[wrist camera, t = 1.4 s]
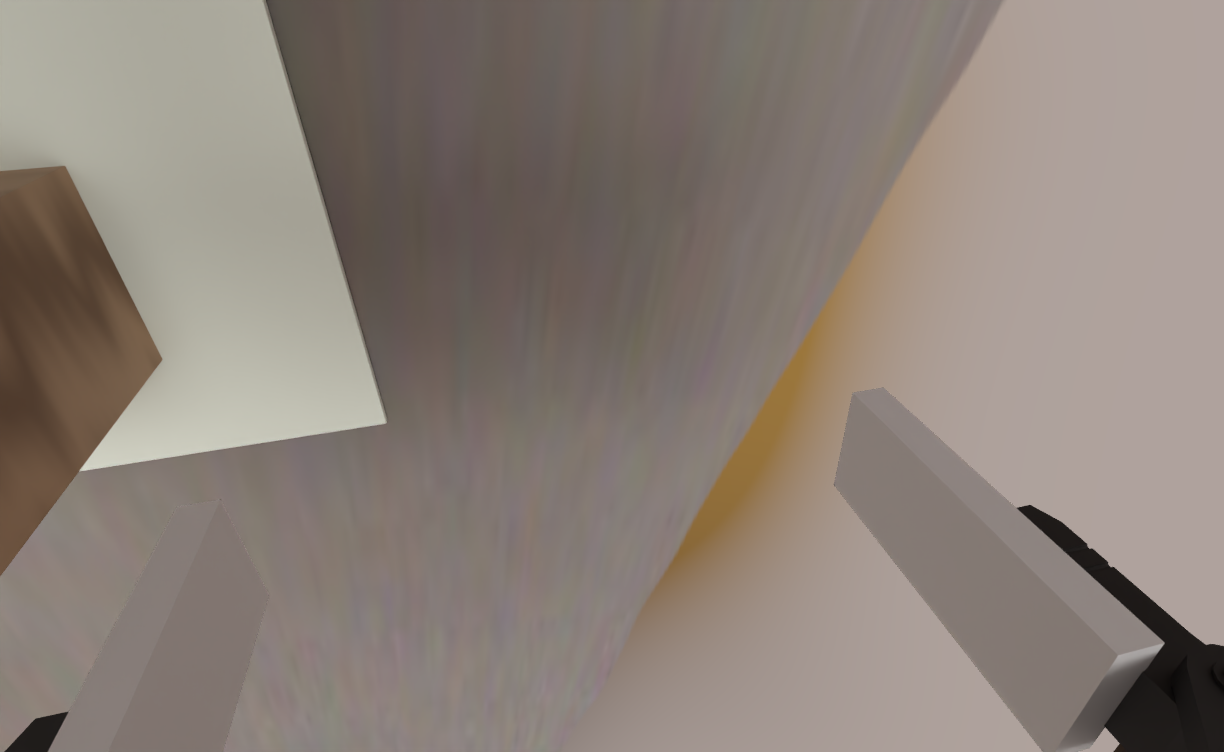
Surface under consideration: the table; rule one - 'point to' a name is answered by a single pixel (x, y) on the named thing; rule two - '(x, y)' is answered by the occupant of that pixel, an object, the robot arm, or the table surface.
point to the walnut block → (57, 346)
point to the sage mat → (194, 214)
